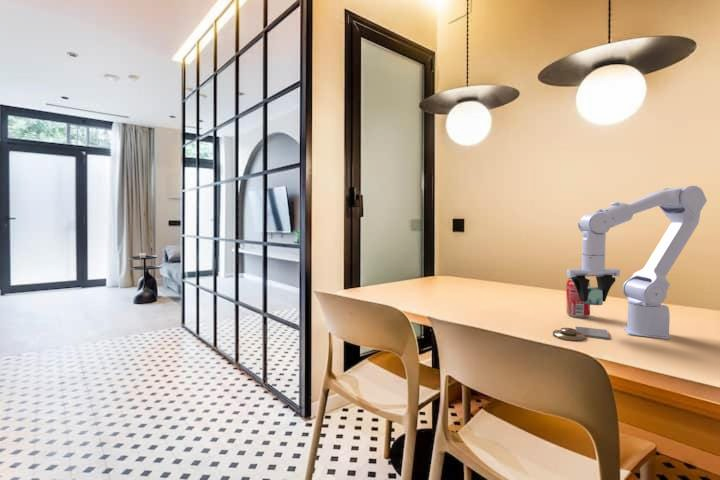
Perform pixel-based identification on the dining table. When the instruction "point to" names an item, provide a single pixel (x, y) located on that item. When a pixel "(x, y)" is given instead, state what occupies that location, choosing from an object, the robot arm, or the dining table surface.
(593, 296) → the teal mug
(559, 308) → the dining table surface
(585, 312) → the soda can
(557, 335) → the bronze metal disc
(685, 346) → the dining table surface
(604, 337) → the coaster
